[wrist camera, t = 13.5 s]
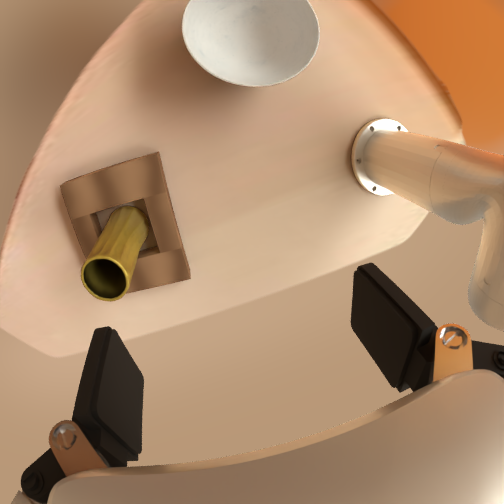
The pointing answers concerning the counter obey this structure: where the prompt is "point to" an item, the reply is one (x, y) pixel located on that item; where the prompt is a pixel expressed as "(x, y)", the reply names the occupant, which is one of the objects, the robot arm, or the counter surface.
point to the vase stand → (123, 191)
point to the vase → (115, 254)
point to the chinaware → (251, 39)
